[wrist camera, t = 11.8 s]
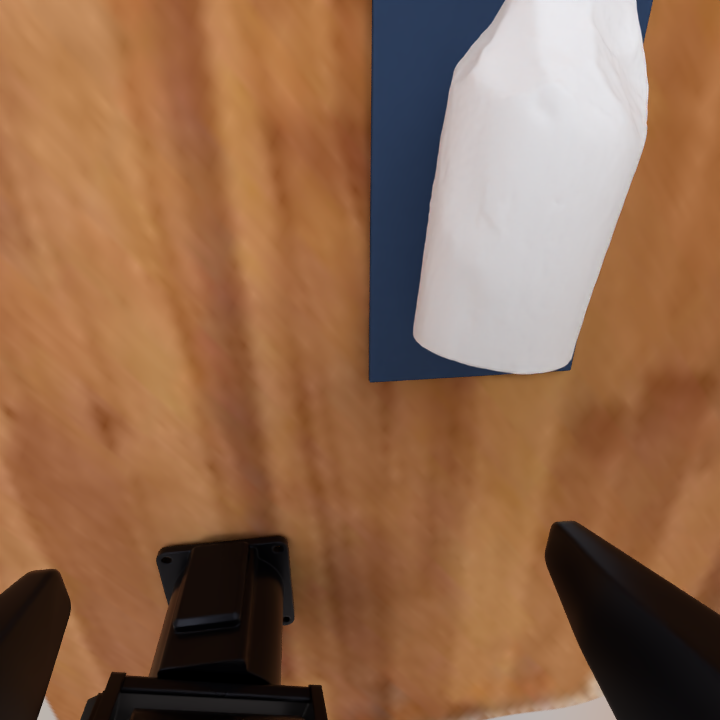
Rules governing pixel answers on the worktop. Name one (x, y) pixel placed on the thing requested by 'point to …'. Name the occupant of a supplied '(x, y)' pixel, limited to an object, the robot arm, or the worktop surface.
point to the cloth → (414, 166)
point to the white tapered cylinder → (531, 181)
